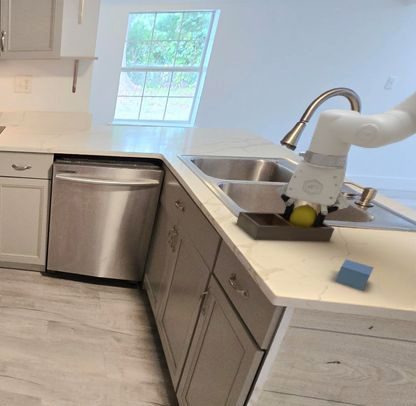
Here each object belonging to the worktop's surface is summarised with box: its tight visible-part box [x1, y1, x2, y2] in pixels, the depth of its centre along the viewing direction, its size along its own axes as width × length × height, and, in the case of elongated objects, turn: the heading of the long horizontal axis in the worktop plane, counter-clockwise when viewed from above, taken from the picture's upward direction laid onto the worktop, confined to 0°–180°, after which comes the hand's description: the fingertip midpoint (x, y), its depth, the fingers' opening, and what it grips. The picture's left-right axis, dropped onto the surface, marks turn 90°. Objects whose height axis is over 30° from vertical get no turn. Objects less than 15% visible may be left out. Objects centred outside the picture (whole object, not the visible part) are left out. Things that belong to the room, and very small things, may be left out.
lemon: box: [289, 204, 318, 227], centre depth 100 cm, size 6×6×8 cm
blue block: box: [334, 258, 375, 292], centre depth 80 cm, size 4×4×4 cm
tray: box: [235, 211, 335, 243], centre depth 102 cm, size 10×18×4 cm, turn 83°
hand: (301, 221), depth 101 cm, fingers closed on lemon, 5 cm apart
